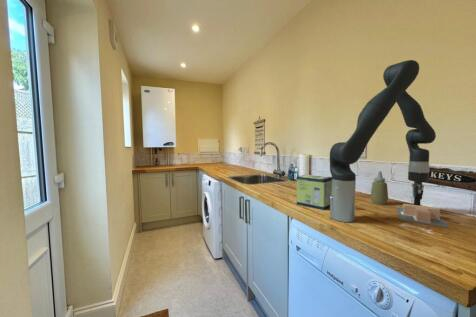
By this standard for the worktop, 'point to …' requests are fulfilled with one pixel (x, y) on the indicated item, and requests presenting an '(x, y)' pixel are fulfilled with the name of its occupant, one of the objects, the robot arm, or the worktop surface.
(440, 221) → the mat
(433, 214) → the T-block
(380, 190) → the squeeze bottle
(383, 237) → the worktop surface
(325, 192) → the protein box
